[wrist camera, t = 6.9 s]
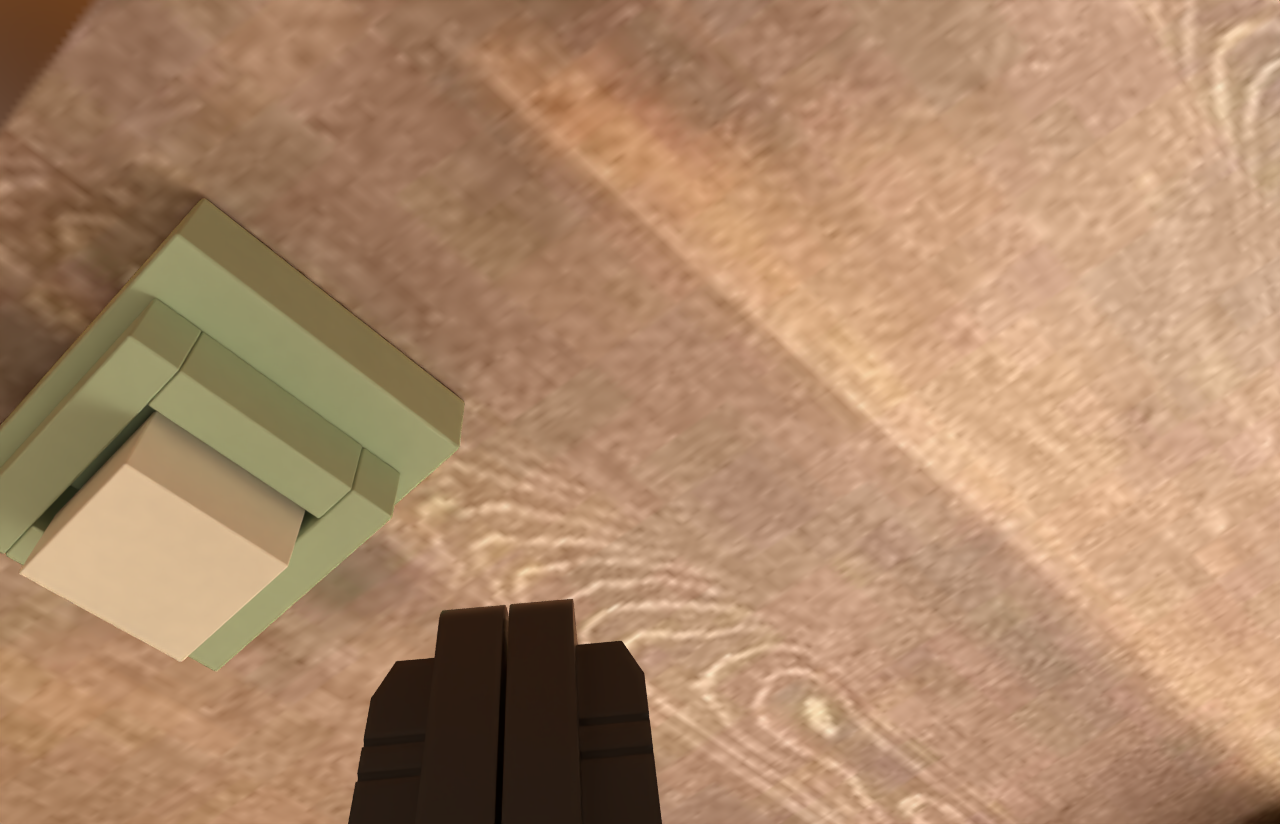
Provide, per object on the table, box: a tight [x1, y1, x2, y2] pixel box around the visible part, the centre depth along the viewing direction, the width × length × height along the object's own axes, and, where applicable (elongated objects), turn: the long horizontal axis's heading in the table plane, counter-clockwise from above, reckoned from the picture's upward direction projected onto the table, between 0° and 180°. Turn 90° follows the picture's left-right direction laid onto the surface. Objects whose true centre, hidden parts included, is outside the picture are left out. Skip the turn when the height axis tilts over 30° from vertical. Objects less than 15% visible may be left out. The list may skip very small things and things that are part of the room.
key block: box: [0, 198, 465, 671], centre depth 25 cm, size 10×8×4 cm
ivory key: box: [19, 411, 305, 662], centre depth 23 cm, size 4×4×2 cm
